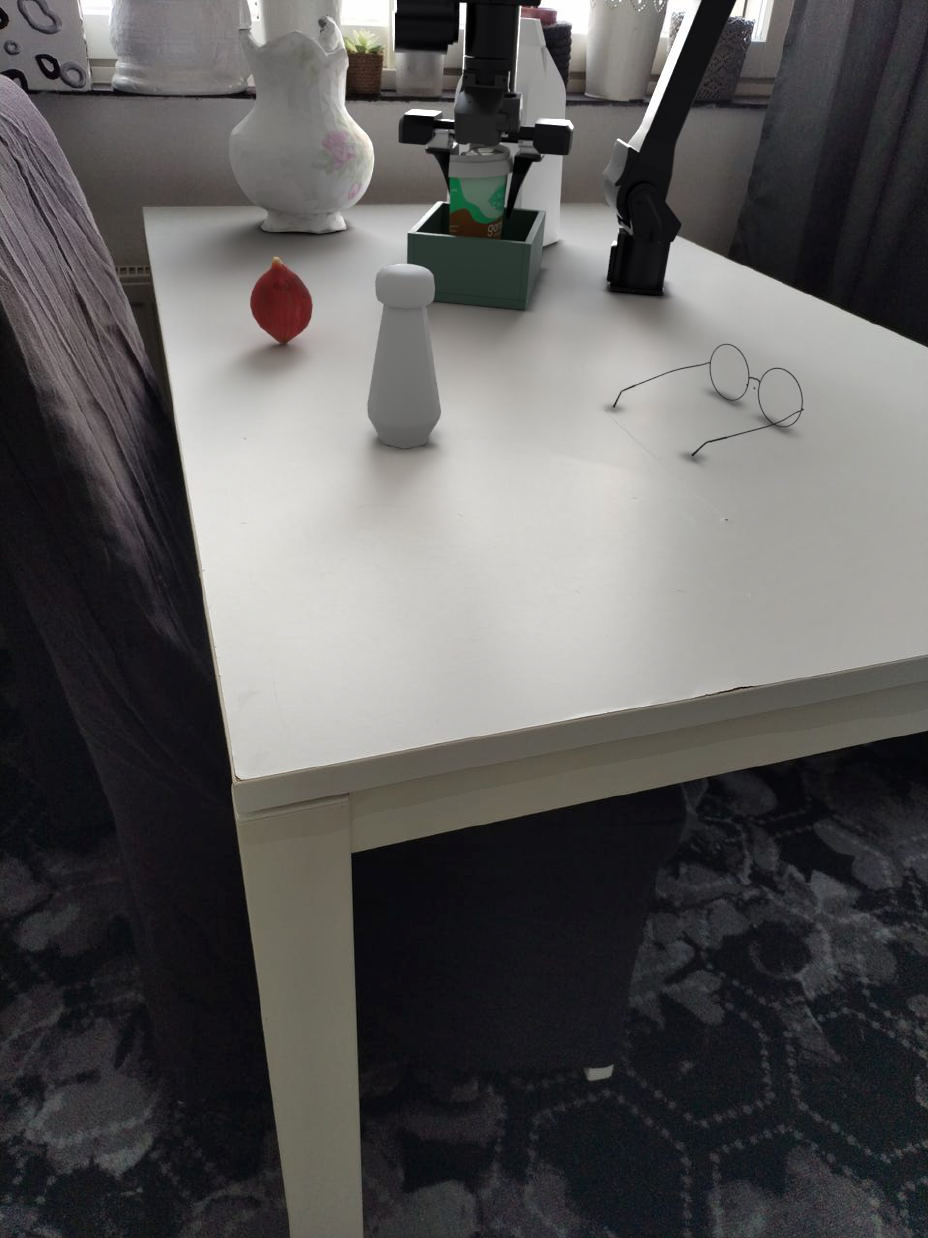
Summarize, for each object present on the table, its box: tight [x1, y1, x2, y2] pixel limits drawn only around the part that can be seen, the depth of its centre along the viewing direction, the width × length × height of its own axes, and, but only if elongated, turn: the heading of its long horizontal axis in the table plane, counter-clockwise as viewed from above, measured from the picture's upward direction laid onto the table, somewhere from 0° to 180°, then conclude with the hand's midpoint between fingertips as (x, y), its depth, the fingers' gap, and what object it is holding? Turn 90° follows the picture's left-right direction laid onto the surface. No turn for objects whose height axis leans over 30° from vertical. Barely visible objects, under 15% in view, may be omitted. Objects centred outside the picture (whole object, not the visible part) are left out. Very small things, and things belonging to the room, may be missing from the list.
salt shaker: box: [366, 263, 442, 450], centre depth 67 cm, size 6×6×13 cm
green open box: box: [406, 200, 546, 311], centre depth 105 cm, size 14×18×7 cm
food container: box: [449, 143, 514, 240], centre depth 101 cm, size 12×6×10 cm, turn 169°
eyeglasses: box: [612, 343, 805, 457], centre depth 74 cm, size 11×13×5 cm
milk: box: [445, 17, 567, 247], centre depth 117 cm, size 12×12×26 cm
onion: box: [249, 256, 314, 345], centre depth 84 cm, size 6×6×8 cm
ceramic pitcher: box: [228, 14, 375, 235], centre depth 120 cm, size 22×20×25 cm
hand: (482, 216), depth 102 cm, fingers closed on food container, 6 cm apart
